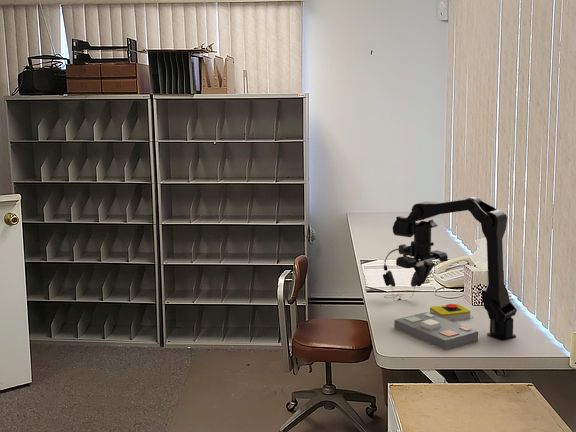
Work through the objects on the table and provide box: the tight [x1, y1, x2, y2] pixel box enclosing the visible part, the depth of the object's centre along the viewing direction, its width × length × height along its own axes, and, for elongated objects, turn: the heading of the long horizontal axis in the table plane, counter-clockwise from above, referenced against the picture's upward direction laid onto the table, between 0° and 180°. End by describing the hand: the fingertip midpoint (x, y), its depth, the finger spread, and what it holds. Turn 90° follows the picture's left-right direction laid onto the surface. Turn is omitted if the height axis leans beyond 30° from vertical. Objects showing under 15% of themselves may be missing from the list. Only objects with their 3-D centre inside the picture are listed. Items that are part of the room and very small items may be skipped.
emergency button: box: [429, 303, 475, 322], centre depth 230 cm, size 9×4×15 cm
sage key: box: [403, 315, 423, 323], centre depth 218 cm, size 4×4×2 cm
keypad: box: [393, 311, 479, 351], centre depth 212 cm, size 23×14×3 cm, turn 32°
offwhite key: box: [421, 319, 440, 330], centre depth 211 cm, size 4×4×2 cm
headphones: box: [382, 247, 423, 302], centre depth 249 cm, size 15×11×20 cm
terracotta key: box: [439, 330, 459, 337], centre depth 205 cm, size 4×4×2 cm
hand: (421, 283), depth 227 cm, fingers closed
